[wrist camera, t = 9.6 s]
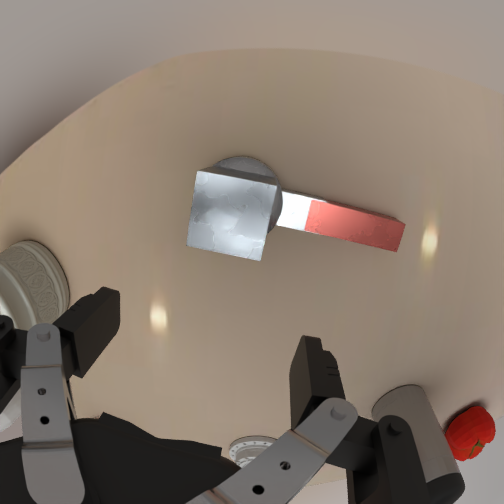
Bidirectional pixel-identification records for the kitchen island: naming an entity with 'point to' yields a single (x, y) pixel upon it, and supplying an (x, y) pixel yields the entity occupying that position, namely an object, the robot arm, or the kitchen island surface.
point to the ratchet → (323, 212)
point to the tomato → (470, 433)
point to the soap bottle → (11, 411)
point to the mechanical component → (249, 449)
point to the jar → (31, 285)
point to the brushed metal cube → (231, 211)
